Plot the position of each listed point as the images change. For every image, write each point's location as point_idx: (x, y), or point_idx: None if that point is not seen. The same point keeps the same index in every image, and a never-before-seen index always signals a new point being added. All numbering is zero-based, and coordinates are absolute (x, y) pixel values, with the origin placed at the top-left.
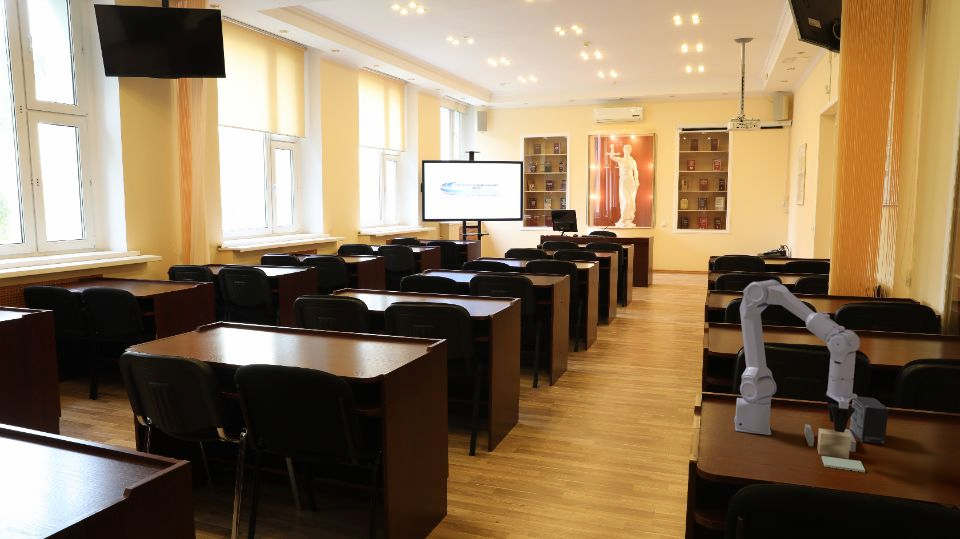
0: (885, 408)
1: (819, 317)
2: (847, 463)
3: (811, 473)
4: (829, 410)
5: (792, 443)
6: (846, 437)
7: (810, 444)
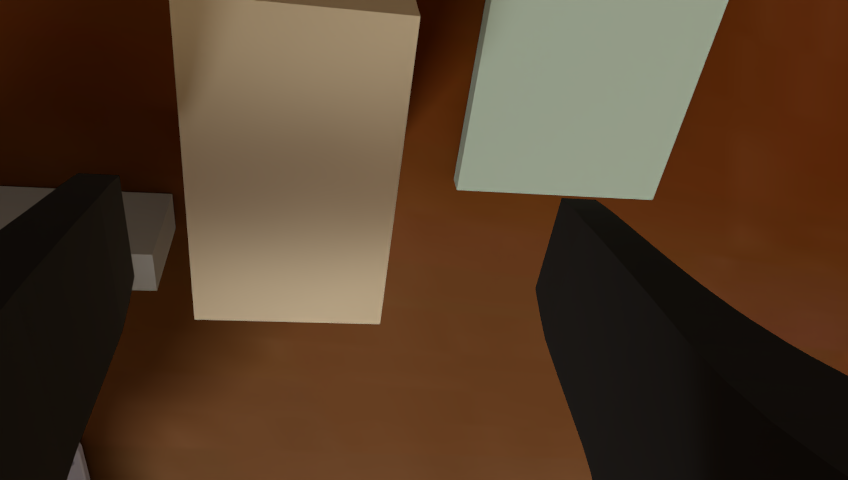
0: None
1: None
2: (609, 7)
3: (762, 285)
4: (72, 449)
5: (175, 326)
6: (409, 60)
7: (172, 226)
